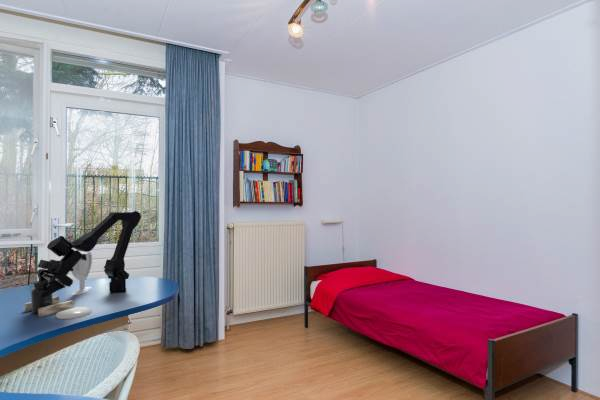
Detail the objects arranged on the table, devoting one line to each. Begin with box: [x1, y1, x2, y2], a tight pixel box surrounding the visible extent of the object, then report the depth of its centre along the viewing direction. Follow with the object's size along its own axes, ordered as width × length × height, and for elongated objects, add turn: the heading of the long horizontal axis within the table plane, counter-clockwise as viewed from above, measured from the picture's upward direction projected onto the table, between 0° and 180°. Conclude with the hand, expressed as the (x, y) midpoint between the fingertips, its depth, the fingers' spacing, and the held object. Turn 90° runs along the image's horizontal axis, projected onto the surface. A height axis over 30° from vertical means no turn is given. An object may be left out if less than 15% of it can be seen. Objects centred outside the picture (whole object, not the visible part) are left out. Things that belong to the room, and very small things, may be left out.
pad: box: [55, 306, 93, 320], centre depth 139 cm, size 12×12×1 cm
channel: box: [24, 295, 74, 318], centre depth 143 cm, size 12×12×3 cm
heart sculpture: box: [70, 251, 93, 296], centre depth 170 cm, size 16×5×18 cm, turn 10°
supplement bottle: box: [30, 280, 53, 315], centre depth 141 cm, size 7×7×12 cm
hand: (37, 295), depth 140 cm, fingers closed on supplement bottle, 7 cm apart
